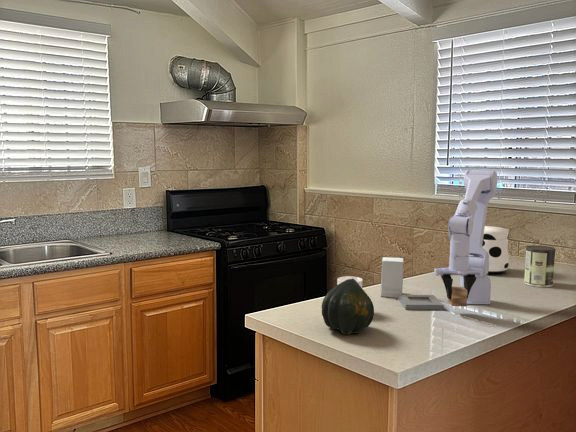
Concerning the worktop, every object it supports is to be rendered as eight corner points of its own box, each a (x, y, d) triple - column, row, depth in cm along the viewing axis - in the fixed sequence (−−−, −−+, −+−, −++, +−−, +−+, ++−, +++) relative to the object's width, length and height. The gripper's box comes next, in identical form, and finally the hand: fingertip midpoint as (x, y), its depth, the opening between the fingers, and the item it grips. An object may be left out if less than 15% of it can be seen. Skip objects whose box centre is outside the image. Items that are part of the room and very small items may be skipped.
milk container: (512, 270, 241) (515, 227, 239) (503, 278, 226) (506, 233, 224) (470, 265, 250) (472, 224, 248) (459, 272, 236) (461, 229, 233)
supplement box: (402, 298, 195) (403, 261, 194) (380, 296, 197) (381, 260, 195) (402, 292, 202) (403, 257, 201) (381, 291, 204) (382, 256, 202)
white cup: (364, 308, 183) (364, 277, 182) (358, 314, 175) (359, 283, 174) (340, 305, 185) (340, 275, 184) (333, 312, 178) (334, 280, 177)
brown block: (461, 302, 180) (462, 286, 179) (466, 306, 175) (467, 290, 175) (447, 301, 180) (448, 286, 179) (451, 306, 175) (452, 290, 175)
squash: (322, 321, 151) (358, 277, 153) (305, 307, 165) (337, 267, 167) (359, 352, 155) (393, 309, 157) (339, 336, 169) (370, 297, 171)
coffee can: (546, 281, 222) (548, 245, 220) (558, 287, 212) (560, 250, 210) (519, 280, 222) (521, 244, 220) (529, 287, 212) (532, 249, 210)
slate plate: (433, 299, 194) (433, 295, 193) (443, 309, 182) (443, 304, 182) (397, 299, 194) (398, 294, 193) (405, 309, 182) (405, 304, 181)
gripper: (439, 257, 171) (437, 301, 173) (487, 257, 172) (485, 301, 173) (433, 253, 178) (431, 295, 180) (479, 253, 179) (477, 295, 180)
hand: (457, 298), depth 177 cm, fingers closed on brown block, 4 cm apart
